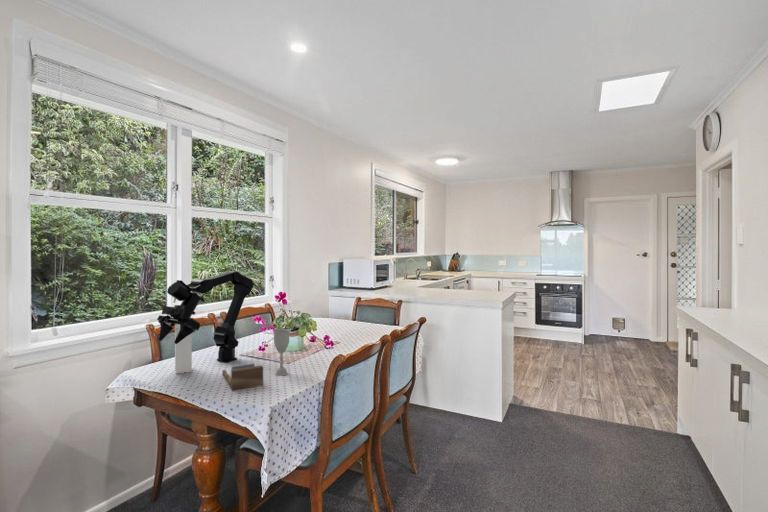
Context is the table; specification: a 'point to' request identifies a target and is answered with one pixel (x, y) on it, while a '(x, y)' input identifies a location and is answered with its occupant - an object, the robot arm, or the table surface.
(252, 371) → the brown wooden u-shaped piece
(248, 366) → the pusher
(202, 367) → the table surface
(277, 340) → the chalice
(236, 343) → the robot arm
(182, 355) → the milk
